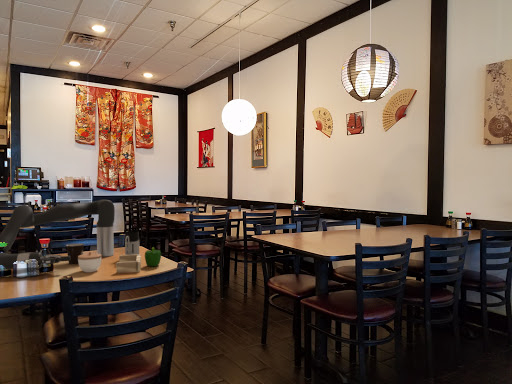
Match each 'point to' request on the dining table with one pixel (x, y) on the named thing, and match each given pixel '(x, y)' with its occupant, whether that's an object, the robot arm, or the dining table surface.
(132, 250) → the electric kettle
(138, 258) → the cedar bay
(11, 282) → the dining table surface
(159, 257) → the bell pepper
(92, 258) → the lidded jar
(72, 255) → the coffee mug
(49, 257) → the robot arm
